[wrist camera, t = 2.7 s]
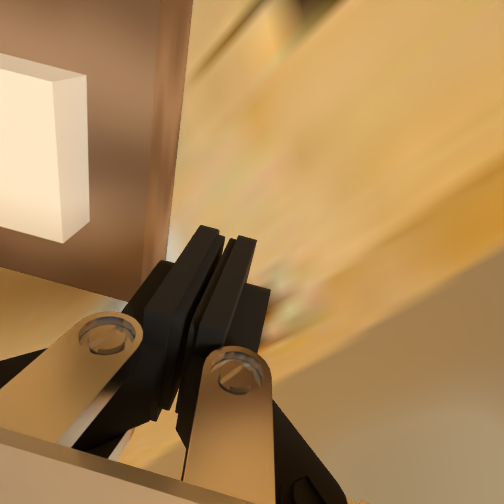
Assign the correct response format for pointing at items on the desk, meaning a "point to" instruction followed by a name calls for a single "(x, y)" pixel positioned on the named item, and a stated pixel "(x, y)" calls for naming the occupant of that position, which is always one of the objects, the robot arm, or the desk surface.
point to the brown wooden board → (109, 132)
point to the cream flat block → (43, 149)
